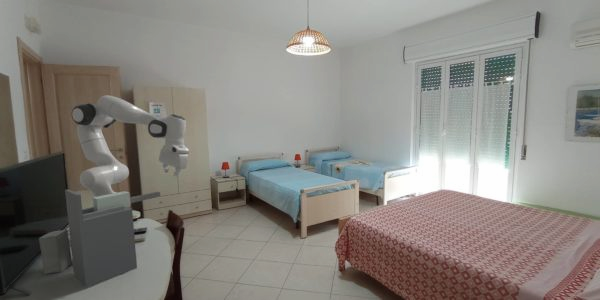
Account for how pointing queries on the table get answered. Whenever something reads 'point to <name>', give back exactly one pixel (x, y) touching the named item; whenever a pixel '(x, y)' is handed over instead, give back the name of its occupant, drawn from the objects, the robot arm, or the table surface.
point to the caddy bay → (100, 241)
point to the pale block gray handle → (119, 200)
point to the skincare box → (55, 251)
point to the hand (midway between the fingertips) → (170, 174)
